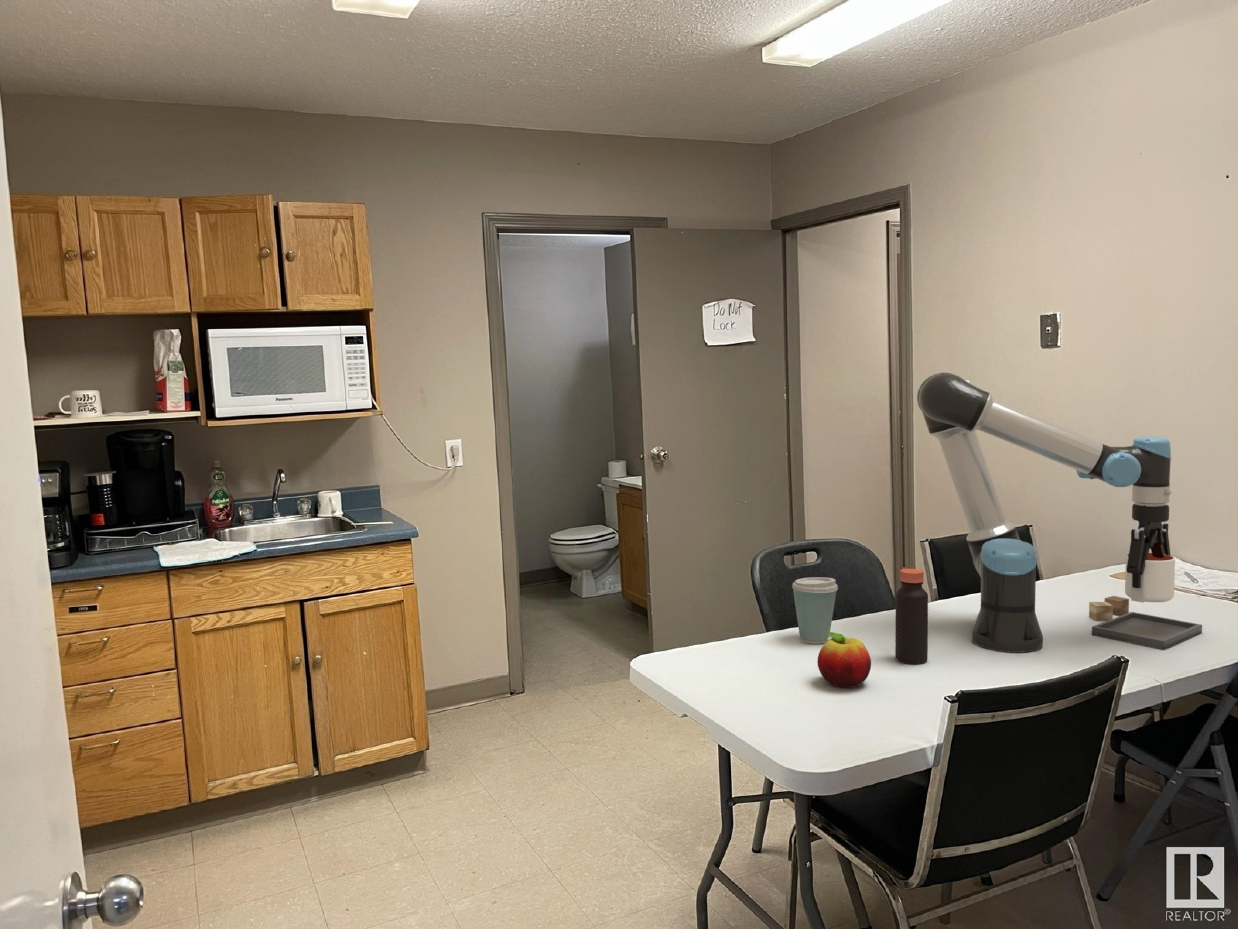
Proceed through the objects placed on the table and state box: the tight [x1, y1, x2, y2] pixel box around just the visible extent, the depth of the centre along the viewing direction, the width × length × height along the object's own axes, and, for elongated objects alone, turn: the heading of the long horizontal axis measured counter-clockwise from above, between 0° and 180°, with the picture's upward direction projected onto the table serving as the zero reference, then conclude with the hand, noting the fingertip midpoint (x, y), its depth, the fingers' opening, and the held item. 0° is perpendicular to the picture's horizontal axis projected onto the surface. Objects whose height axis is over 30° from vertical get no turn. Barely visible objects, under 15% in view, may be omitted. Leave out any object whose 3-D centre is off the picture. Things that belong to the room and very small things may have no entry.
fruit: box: [816, 631, 872, 689], centre depth 189 cm, size 11×11×10 cm
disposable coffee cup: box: [791, 576, 839, 645], centre depth 219 cm, size 11×11×15 cm
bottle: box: [894, 568, 929, 665], centre depth 202 cm, size 7×7×20 cm
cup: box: [1124, 552, 1176, 603], centre depth 216 cm, size 10×10×10 cm
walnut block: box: [1104, 595, 1130, 617], centre depth 236 cm, size 4×4×4 cm
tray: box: [1091, 611, 1203, 651], centre depth 218 cm, size 20×16×2 cm
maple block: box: [1088, 601, 1114, 622], centre depth 231 cm, size 4×4×4 cm
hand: (1148, 597), depth 217 cm, fingers closed on cup, 10 cm apart
